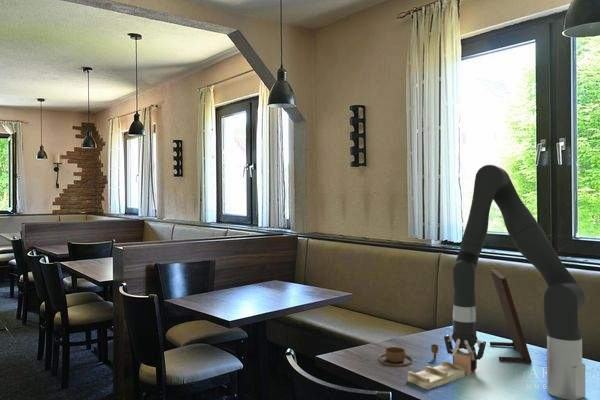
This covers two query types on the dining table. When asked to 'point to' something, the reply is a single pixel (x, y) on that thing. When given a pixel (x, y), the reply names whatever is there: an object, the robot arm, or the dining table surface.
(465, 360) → the frame block
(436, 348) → the place setting
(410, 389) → the dining table surface
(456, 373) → the light wooden ridged board
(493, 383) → the dining table surface
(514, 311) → the picture frame
